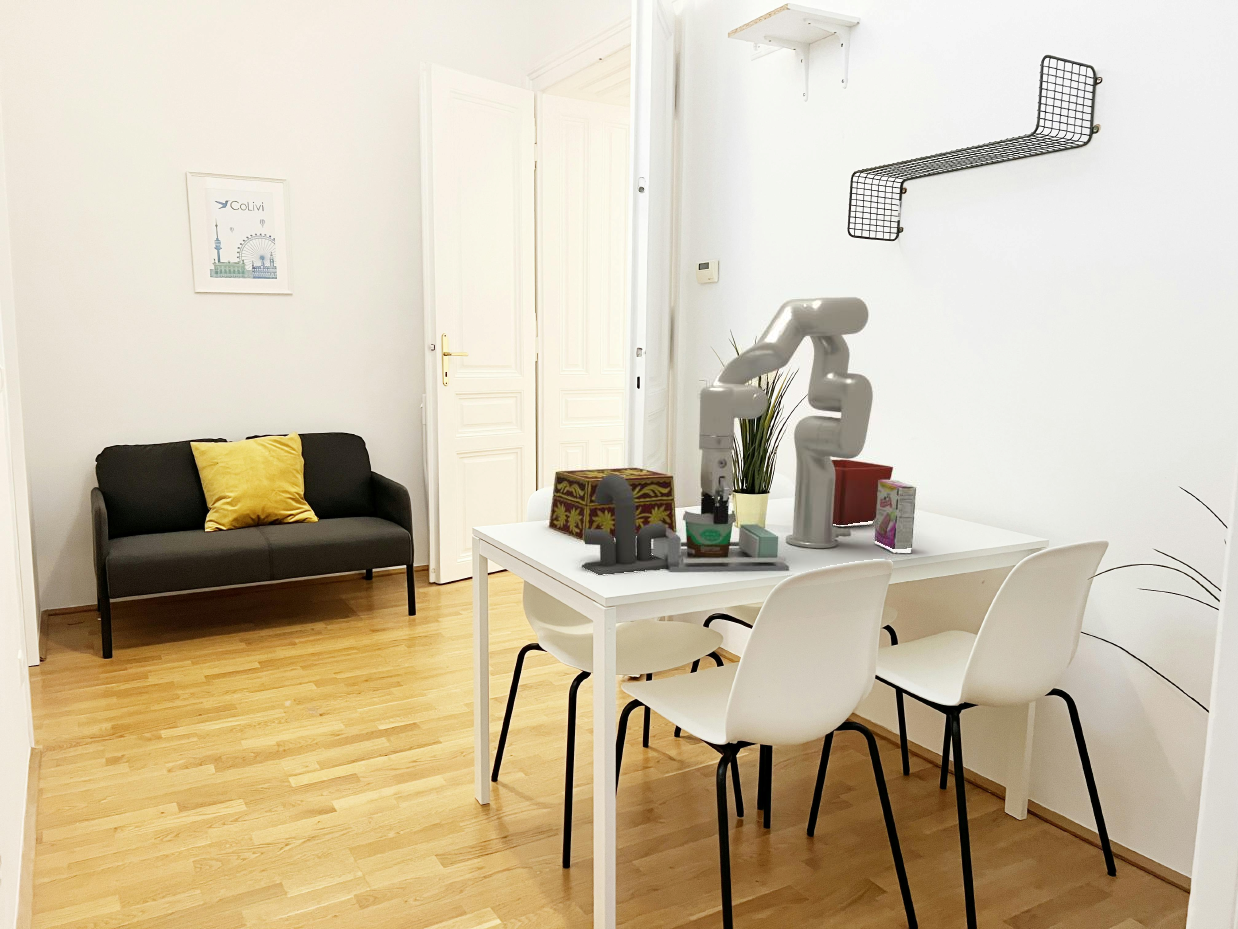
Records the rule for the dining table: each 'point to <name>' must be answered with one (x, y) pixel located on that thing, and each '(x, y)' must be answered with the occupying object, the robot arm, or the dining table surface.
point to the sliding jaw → (757, 541)
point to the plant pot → (857, 490)
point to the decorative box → (581, 511)
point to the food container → (707, 535)
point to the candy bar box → (895, 514)
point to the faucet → (623, 533)
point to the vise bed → (735, 561)
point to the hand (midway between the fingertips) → (714, 519)
